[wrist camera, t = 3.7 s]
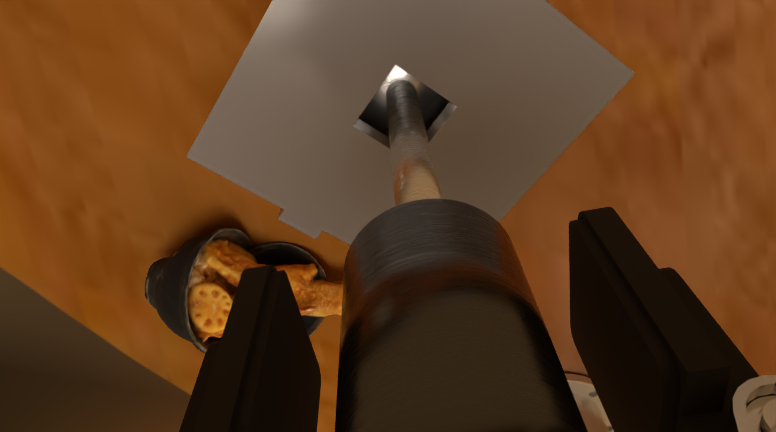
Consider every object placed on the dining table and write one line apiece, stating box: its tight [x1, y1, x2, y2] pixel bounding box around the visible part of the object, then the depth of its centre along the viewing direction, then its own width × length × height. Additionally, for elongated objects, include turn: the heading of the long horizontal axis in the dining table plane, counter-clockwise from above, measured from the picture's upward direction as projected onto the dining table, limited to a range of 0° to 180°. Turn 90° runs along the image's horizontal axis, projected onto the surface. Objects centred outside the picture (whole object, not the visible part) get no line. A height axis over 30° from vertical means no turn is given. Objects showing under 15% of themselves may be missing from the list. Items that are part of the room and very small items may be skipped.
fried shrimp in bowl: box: [145, 228, 343, 353], centre depth 39 cm, size 9×11×18 cm
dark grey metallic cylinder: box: [335, 65, 588, 432], centre depth 15 cm, size 8×8×17 cm
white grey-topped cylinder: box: [186, 0, 635, 245], centre depth 27 cm, size 14×11×17 cm
